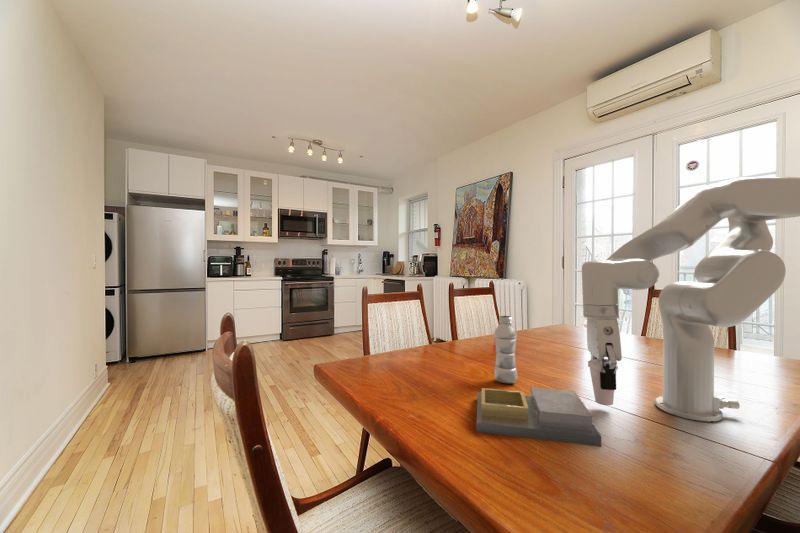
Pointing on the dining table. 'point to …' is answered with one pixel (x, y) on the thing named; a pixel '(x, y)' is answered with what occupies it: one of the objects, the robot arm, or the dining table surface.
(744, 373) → the dining table surface
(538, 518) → the dining table surface
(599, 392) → the smoothie
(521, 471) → the dining table surface
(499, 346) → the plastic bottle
